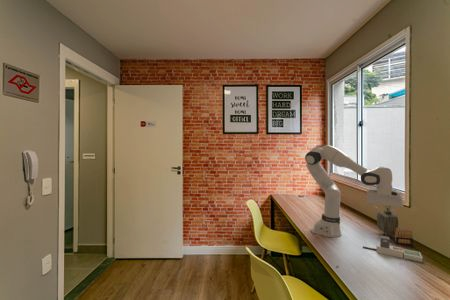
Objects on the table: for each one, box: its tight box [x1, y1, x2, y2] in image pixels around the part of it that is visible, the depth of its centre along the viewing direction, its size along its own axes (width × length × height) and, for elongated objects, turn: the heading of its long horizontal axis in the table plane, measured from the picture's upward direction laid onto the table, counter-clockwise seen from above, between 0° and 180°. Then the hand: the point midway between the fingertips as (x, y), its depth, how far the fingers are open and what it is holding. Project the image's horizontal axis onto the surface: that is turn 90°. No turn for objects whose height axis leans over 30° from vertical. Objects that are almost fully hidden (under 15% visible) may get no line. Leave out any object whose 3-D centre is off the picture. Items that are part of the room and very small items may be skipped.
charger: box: [379, 235, 391, 248], centre depth 154 cm, size 5×5×9 cm
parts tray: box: [402, 248, 424, 263], centre depth 148 cm, size 9×9×3 cm
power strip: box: [362, 242, 404, 259], centre depth 155 cm, size 22×6×5 cm, turn 58°
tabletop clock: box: [376, 205, 399, 240], centre depth 182 cm, size 14×9×25 cm, turn 168°
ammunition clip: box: [394, 227, 414, 247], centre depth 167 cm, size 11×2×12 cm, turn 75°
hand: (384, 211), depth 156 cm, fingers open, 8 cm apart
